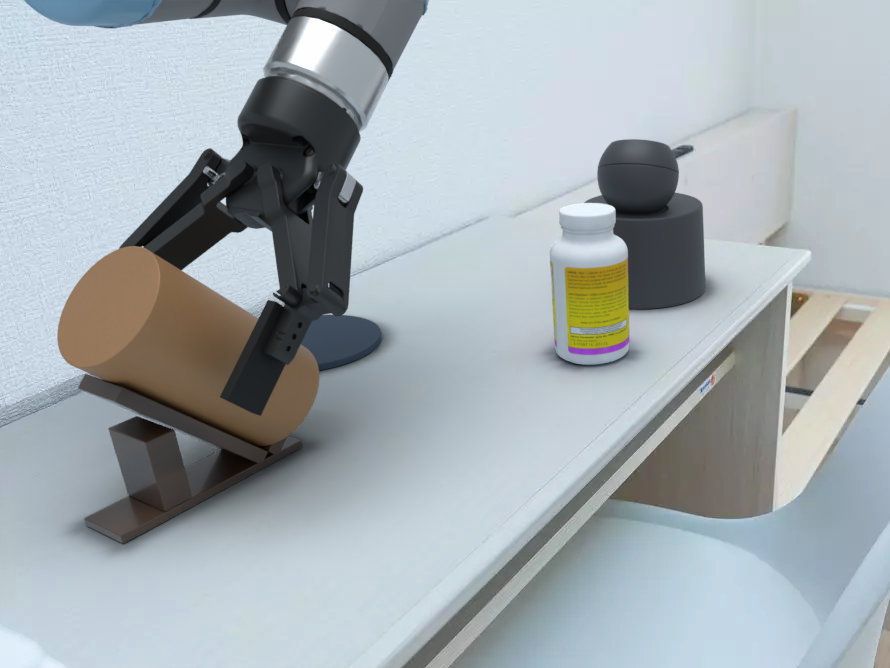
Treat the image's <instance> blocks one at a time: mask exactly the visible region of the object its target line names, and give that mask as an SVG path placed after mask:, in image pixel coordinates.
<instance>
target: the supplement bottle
mask: <svg viewBox="0 0 890 668" xmlns="http://www.w3.org/2000/svg"><path fill="white" fill-rule="evenodd" d="M558 212H559V214H558V220H559V221H558V224H559V225H560V229H561V230H562V235H561V236H559V237H558V238H556V239H555V240H554V241H553V243H552V244H551V246H550V248H549V266H550V267H549V268H550V285H551V301H552V303H551V304H552V320H553V322H552V323H553V337H554V338H553V339H554V340H553V341H554V349H555V352H556V354H557V355H558V356H559V357H560V358H561V359H563V360H565V361H566V362H569V363H572V364H576V365H577V364H578V365H585V366H586V365H587V366H592V365H593V366H595V365H603V364H608V363H613V362H616V361H617V360H619V359H621V358H623V357H625V355H627V353H628V351H629V349H630V309H629V293H628V249H627V246H626V244H625V242H624V241H623V240H622V239H621V238H620V237H618V236H616V235H614V234H613V227H614V226H615V225H614V224H615V222H616V211H615V208H614V207H613V206H611V205H607V204H601V203H584V202H582V203H581V202H580V203H572V204H567V205H565V206H562V207H561V208H560V209H559V211H558Z"/></svg>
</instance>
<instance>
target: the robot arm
mask: <svg viewBox="0 0 890 668" xmlns="http://www.w3.org/2000/svg"><path fill="white" fill-rule="evenodd" d="M23 2H24V3H26V4H27V5H28V6H29V7H30V8H31V9H33V10H34V11H35V12H37V13H38V14H40V15H41V16H42V17H45V18H46V19H48V20H50V21H53V22H55V23H58V24H61V25H64V26H70V27H95V28H100V29H119V28H120V29H121V28H127V27H133V26H137V25H145V24H153V23H163V22H172V21H183V20H196V19H207V18H220V17H231V16H250V17H251V16H252V17H255V18H260V19H263V20H268V21H271V22H274V23H278V24H281V25H285V28H284V30H283V32H282V34H281V35H280V37H279V39H278V41H277V43H276V44H275V46H274V48H273V50H272V51H271V53H270V55H269V57H268V59H267V60H266V62H265V64H264V67H263V68H262V69H263V71H262V72H263V77H262V78H259V79H258V80H257V81H256V83H255V85H254V86H253V88H252V90H251V92H250V94H249V96H248V98H247V100H246V101H245V103H244V106H243V107H242V109H241V111H240V112H239V115H238V116H237V122H236V123H237V128H238V131H239V133H240V136H241V141H242V146H241V148H240V149H239V150H238V151H237V152H236V154H234V156H233V157H232V158H231V159H227V158H224V157H223V156H221V154H219V153H217V151H215V150H214V149H213V148H211V147H209V148H206V149H204V150H203V151H202V153H201V154H200V156H199V157H198V159H197V160H196V162H195V163H194V165H193V167H192V168H191V170H190V172H189V173H188V174H187V175H186V176H185V177H184V178H183V180H182V181H180V183H179V184H178V185H177V186H176V187H175V188H174V189H173V190H172V191H171V192H170V193H169V194H168V195H167V196H166V197H165V198H164V199H163V200H162V201H161V203H160V204H159V205H158V206H156V208H155V209H154V210H153V211H152V212H151V213H150V214H149V215H148V216H147V217H146V218H145V219H144V220H143V221H142V223H140V224H139V225H138V227H137V228H136V229H135V230H134V231H133V232H132V233H131V234H129V236H128V237H127V238H126V239H125V240H124V241H123V242H122V243H121V244H120V246H119V248H118V249H120V248H124V247H128V246H138V247H143V248H146V249H147V250H149V251H151V252H152V253H154V254H156V255H157V256H159V257H160V258H162V259H164V260H165V261H167V262H168V263H170V264H172V265H173V266H175V267H177V268H178V269H180V270H181V271H183V270H184V269H185V268H187V267H188V266H190V265H191V264H192V263H194V262H195V261H196V260H197V259H198V258H199V257H201V256H202V255H204V254H205V253H207V252H208V251H209V250H210V249H212V248H213V247H214V246H215V245H216V244H218V243H219V242H220V241H222V240H223V239H224V238H226V237H227V236H228V235H230V234H231V233H234V234H235V233H236V234H238V233H242V232H244V231H245V230H247V229H248V228H249V229H253V230H254V229H255V230H259V229H267V230H268V231H270V232H271V235H272V241H273V243H272V244H273V249H274V257H275V264H276V265H275V266H276V271H277V278H278V285H279V289H277V290H276V291H275V292H272V296H273V297H274V298H276V299H277V300H278V301H280V302H282V303H283V304H284V305H282V304H280V303H279V302H278V301H276V300H271V299H268V300H267V301H266V302H265V304H264V307H263V309H262V311H261V312H260V315H259V317H258V318H259V319H258V321H257V323H256V325H255V327H254V329H253V331H252V333H251V335H250V337H249V339H248V341H247V343H246V345H245V347H244V349H243V351H242V353H241V355H240V357H239V359H238V361H237V363H236V365H235V367H234V369H233V371H232V373H231V375H230V377H229V379H228V381H227V383H226V385H225V387H224V389H223V391H222V393H221V395H220V398H222V399H224V400H226V401H228V402H231V403H233V404H235V405H237V406H239V407H241V408H243V409H245V410H247V411H249V412H251V413H253V414H256V415H259V416H261V414H262V412H263V410H264V408H265V406H266V404H267V402H268V400H269V398H270V396H271V394H272V392H273V390H274V387H275V385H276V383H277V381H278V379H279V377H280V375H281V373H282V371H283V369H284V367H285V365H289V364H290V363H291V361H292V360H293V359H294V357H295V355H296V353H297V351H298V349H299V347H300V345H301V344H300V343H302V341H303V339H304V337H305V335H306V332H307V330H308V328H309V326H310V324H311V322H312V321H315V320H317V319H319V318H320V316H321V315H334V316H341V315H345V313H346V312H347V310H348V309H349V303H350V287H351V269H352V255H353V241H354V240H353V238H354V224H355V213H356V212H357V211H356V210H357V208H358V206H359V203H360V201H361V197H362V195H363V192H364V186H363V185H362V184H361V183H360V182H359V181H358V180H357V179H356V178H355V177H354V176H353V175H351V173H349V172H348V170H347V169H348V167H349V165H350V162H351V161H352V159H353V156H354V154H355V152H356V150H357V148H358V147H359V145H360V142H361V138H362V137H361V133H360V132H362V131H365V130H366V128H367V126H368V125H369V123H370V121H371V119H372V116H373V115H374V112H375V110H376V109H377V106H378V104H379V102H380V100H381V98H382V96H383V93H384V92H385V89H386V88H387V86H388V83H389V81H390V79H391V78H392V76H393V74H394V70H395V68H396V66H397V64H398V62H399V60H400V59H401V56H402V55H403V53H404V51H405V49H406V47H407V45H408V43H409V41H410V40H411V37H412V35H413V33H414V31H415V30H416V27H417V26H418V24H419V22H420V20H421V18H422V17H423V16H425V14H426V13H427V11H428V6H429V2H430V0H23ZM224 199H225V203H223V202H222V201H223V200H224Z"/></svg>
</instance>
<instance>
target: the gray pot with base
mask: <svg viewBox="0 0 890 668" xmlns="http://www.w3.org/2000/svg"><path fill="white" fill-rule="evenodd" d="M679 170H680V169H679V164H678V161H677V157H676V156H675V153H674V151H673V150H672V149H671V147H670V145H668V144H666V143H664V142H660V141H656V140H651V139H641V138H625V139H616V140H614V141H612V142H610V144H609V145H608V146H607V147H606V148H605V149H604V151H603V153H602V154H601V156H600V158H599V161H598V165H597V173H596V176H597V177H596V178H597V185H598V189H599V192H600V194H601V195H597V196H594V197H591V198H589V199H587V200H586V201H584V202H583V203H601V204H607V205H611V206H613V207H614V208H615V211H616V222H615V224H614V225H615V226H614V227H613V234H614V235H616V236H618V237H620V238H621V239H622V240H623V241H624V242H625V244H626V246H627V249H628V293H629V310H652V309H654V310H655V309H663V308H670V307H676V306H679V305H683V304H687V303H689V302H691V301H695V300H696V299H698V298H700V297H701V296H702V295H703V294H704V293H705V291H706V288H707V287H706V285H707V284H706V262H705V261H706V260H705V259H706V257H705V232H704V207H703V202H702V201H701V200H700V199H698V198H697V197H695V196H693V195H692V196H691V195H689V194H685V193H680V192H677V188H678V185H679V177H680V171H679Z"/></svg>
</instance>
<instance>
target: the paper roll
mask: <svg viewBox="0 0 890 668" xmlns="http://www.w3.org/2000/svg"><path fill="white" fill-rule="evenodd" d="M258 319H259V317H257V316H256V315H254V314H253V313H251V312H249V311H248V310H246V309H245V308H242V307H241V306H240V305H238V304H236V302H233V301H232V300H230V299H228V298H227V297H225V296H223V295H222V294H221V293H219V292H217V291H215V290H214V289H212V288H211V287H209V286H207V285H206V284H204V283H202V282H201V281H199V280H197V279H196V278H194V277H193V276H191V275H189V274H188V273H187V272H184V271H183V270H180V269H178V268H177V267H175V266H173V265H172V264H170V263H168V262H167V261H165V260H164V259H162V258H160V257H159V256H157V255H156V254H154V253H152V252H151V251H149V250H147V249H146V248H143V246H142V247H138V246H128V247H124V248H120V249H119V248H118V249H115V250H113V251H111V252H110V253H108V254H106V255H104V256H103V257H102V258H100V259H99V260H97V261H96V262H95V263H94V264H93V265H92V266H90V267H89V269H87V271H86V272H85V273H83V275H82V276H81V277H80V279H79V280H78V282H77V283H76V284H75V286H74V287H73V289H72V290H71V292H70V294H69V295H68V297H67V299H66V301H65V303H64V306H63V309H62V311H61V314H60V316H59V321H58V326H57V331H56V334H57V336H56V337H57V340H56V341H57V346H58V350H59V351H58V352H59V353H60V355H61V357H62V359H64V361H65V362H66V363H67V364H69V365H70V366H72V367H74V368H76V369H78V370H81V371H83V372H85V373H86V374H88V375H90V376H93V377H96V378H99V379H102V380H105V381H108V382H111V383H113V384H116V385H119V386H122V387H125V388H127V389H129V390H131V391H134V392H136V393H138V394H140V395H143V396H145V397H147V398H149V399H151V400H154V401H156V402H158V403H160V404H163V405H165V406H167V407H169V408H172V409H174V410H176V411H178V412H180V413H183V414H185V415H187V416H189V417H192V418H194V419H196V420H198V421H200V422H203V423H205V424H207V425H209V426H212V427H214V428H216V429H218V430H221V431H223V432H225V433H227V434H229V435H232V436H234V437H236V438H238V439H241V440H243V441H245V442H247V443H249V444H252V445H254V446H259V447H260V446H268V445H272V444H274V443H277V442H279V441H281V440H283V439H284V438H286V437H287V436H290V435H291V434H292V433H294V432H295V431H296V430H297V429H298V428H299V427H300V426H301V424H302V423H303V422H304V421H305V420H306V418H307V417H308V415H309V413H310V411H311V410H312V408H313V405H314V403H315V401H316V398H317V395H318V391H319V386H320V370H319V368H318V364H317V361H316V359H315V357H314V355H313V354H312V353H311V352H310V351H309V350H308V349H307V348H306V347H304V346H302V345H300V347H299V349H298V351H297V353H296V355H295V357H294V359H293V360H292V361H291V363H290V364H289V365H285V367H284V369H283V371H282V373H281V375H280V377H279V379H278V381H277V383H276V385H275V387H274V390H273V392H272V394H271V396H270V398H269V400H268V402H267V404H266V406H265V408H264V410H263V412H262V414H261V416H259V415H256V414H253V413H251V412H249V411H247V410H245V409H243V408H241V407H239V406H237V405H235V404H233V403H231V402H228V401H226V400H224V399H222V398H220V395H221V393H222V391H223V389H224V387H225V385H226V383H227V381H228V379H229V377H230V375H231V373H232V371H233V369H234V367H235V365H236V363H237V361H238V359H239V357H240V355H241V353H242V351H243V349H244V347H245V345H246V343H247V341H248V339H249V337H250V335H251V333H252V331H253V329H254V327H255V325H256V323H257V321H258Z"/></svg>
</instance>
